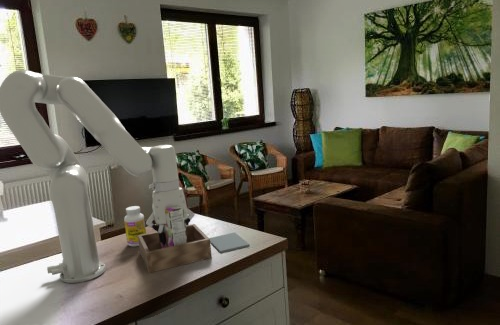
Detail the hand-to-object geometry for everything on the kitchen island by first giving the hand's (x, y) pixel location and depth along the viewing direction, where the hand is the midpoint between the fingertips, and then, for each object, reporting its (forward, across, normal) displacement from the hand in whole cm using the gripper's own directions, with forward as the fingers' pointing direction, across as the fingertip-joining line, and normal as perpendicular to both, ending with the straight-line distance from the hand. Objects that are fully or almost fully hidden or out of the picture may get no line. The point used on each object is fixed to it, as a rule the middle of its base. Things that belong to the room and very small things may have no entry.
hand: (173, 240), depth 130 cm
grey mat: (+5, +18, 0) cm, 19 cm away
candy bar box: (+5, 0, 0) cm, 5 cm away
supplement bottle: (+5, -9, +18) cm, 21 cm away
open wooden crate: (+5, 0, 0) cm, 5 cm away
